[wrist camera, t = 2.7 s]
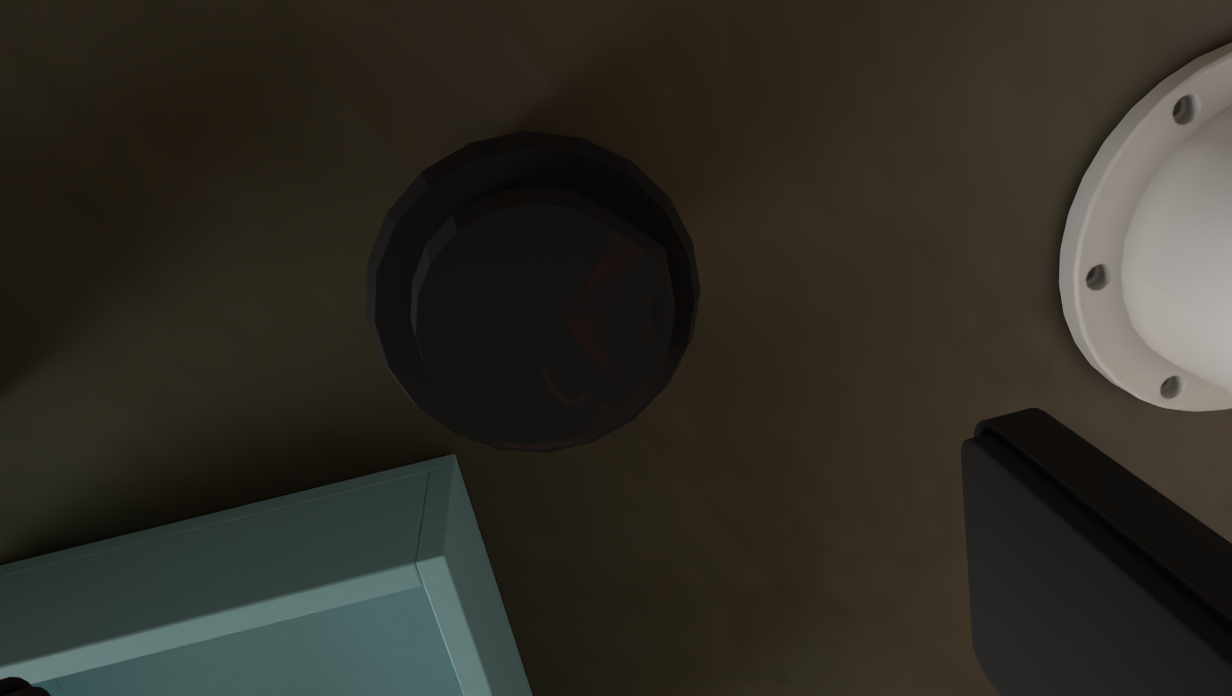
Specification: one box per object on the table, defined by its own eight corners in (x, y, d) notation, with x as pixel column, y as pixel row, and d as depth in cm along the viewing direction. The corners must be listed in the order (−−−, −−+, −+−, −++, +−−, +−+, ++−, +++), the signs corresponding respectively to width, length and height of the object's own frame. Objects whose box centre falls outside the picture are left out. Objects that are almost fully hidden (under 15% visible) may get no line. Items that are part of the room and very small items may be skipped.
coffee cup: (421, 331, 27) (378, 499, 17) (392, 100, 24) (326, 151, 15) (641, 316, 27) (715, 468, 18) (637, 89, 25) (719, 132, 15)
